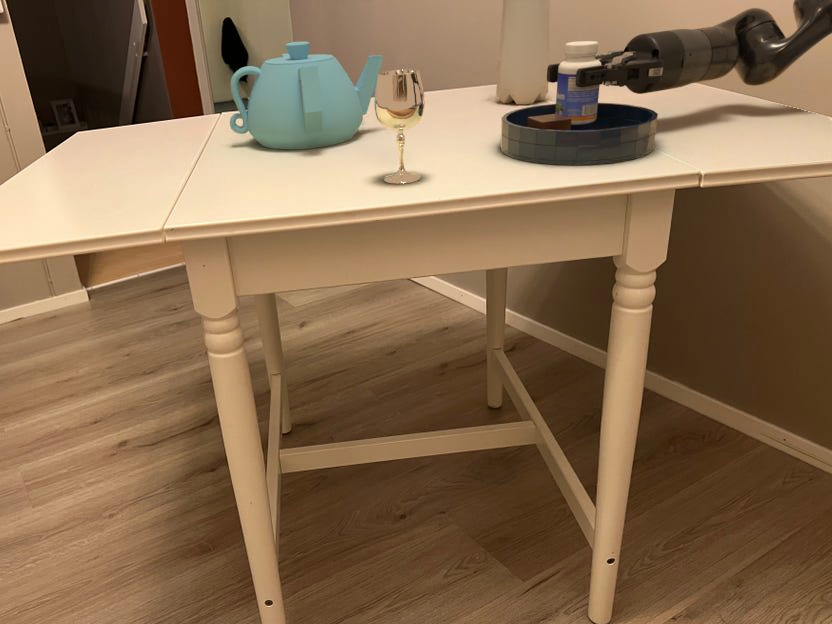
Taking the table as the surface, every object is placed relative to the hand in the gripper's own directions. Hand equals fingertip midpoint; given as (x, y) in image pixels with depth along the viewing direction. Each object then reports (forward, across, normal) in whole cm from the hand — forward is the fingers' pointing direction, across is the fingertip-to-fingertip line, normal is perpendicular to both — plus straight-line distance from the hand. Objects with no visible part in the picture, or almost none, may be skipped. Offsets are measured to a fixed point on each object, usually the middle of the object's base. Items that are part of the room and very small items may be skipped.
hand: (563, 76), depth 91 cm
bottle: (-15, -31, +9) cm, 36 cm away
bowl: (0, +3, +9) cm, 9 cm away
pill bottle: (-3, 0, +6) cm, 7 cm away
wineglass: (+25, +3, +9) cm, 27 cm away
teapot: (+26, -28, +9) cm, 39 cm away
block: (+5, +4, +8) cm, 10 cm away
